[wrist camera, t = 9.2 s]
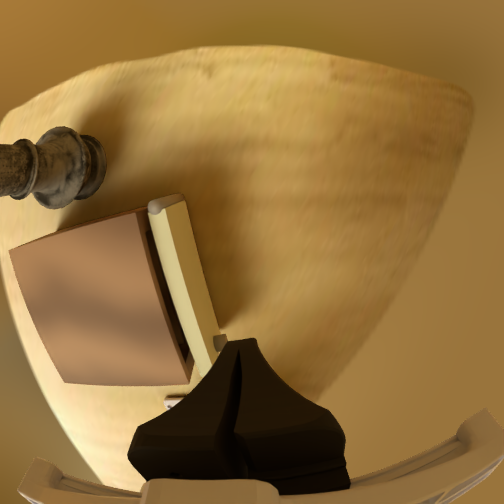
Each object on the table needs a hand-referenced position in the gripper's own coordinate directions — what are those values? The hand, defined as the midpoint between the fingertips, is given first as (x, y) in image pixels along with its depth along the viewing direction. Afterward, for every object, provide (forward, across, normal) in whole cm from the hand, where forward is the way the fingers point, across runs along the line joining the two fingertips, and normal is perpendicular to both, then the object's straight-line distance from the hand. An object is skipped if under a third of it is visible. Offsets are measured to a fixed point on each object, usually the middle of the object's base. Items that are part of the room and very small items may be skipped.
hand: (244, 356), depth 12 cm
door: (+9, +3, -2) cm, 10 cm away
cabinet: (+9, +10, -2) cm, 14 cm away
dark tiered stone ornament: (+9, +11, -12) cm, 19 cm away
